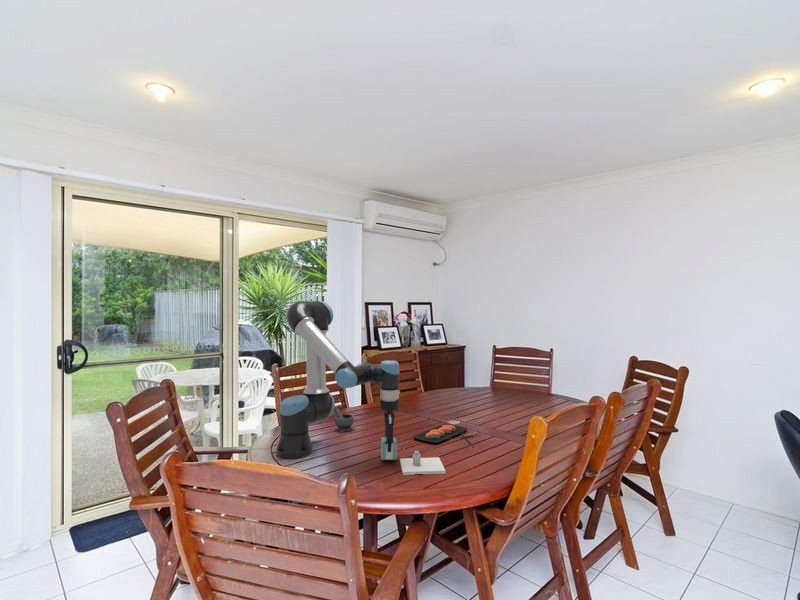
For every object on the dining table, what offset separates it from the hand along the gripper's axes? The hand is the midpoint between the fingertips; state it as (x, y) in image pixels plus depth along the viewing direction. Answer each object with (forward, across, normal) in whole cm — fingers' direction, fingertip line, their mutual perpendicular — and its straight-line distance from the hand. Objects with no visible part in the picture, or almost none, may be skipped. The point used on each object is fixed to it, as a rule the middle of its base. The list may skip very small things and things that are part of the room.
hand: (388, 456), depth 180 cm
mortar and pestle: (+3, +45, +20) cm, 49 cm away
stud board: (+1, -8, -12) cm, 15 cm away
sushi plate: (+2, +27, -33) cm, 42 cm away
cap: (0, 0, 0) cm, 0 cm away
